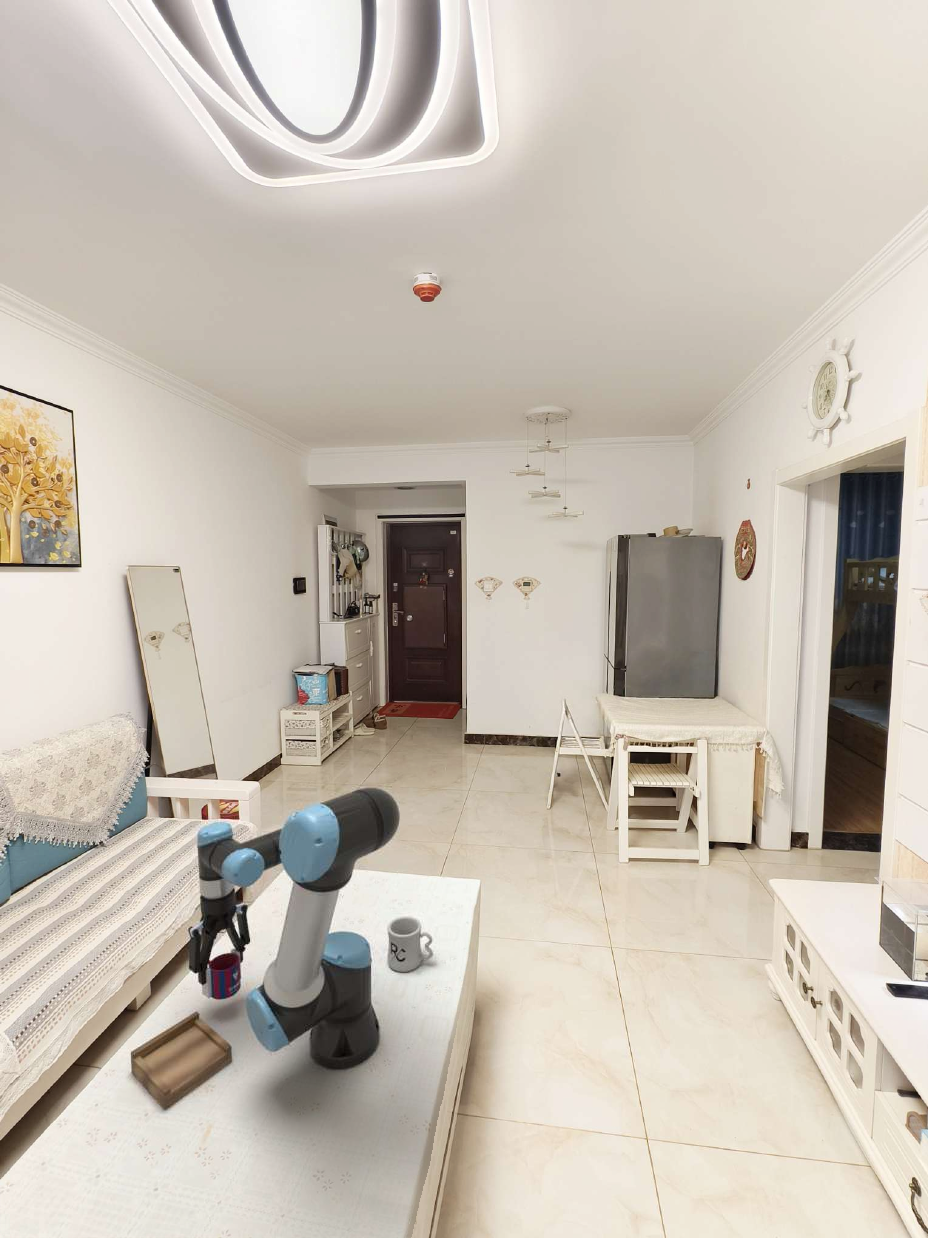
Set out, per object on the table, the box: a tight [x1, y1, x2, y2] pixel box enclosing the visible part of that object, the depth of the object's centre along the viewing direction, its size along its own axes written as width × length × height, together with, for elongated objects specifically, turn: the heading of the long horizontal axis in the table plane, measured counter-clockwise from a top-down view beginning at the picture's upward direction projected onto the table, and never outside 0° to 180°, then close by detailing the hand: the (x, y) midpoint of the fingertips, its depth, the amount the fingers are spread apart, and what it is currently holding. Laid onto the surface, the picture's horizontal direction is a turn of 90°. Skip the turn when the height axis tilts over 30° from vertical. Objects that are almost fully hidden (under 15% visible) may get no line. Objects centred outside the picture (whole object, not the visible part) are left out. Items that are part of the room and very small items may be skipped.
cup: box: [208, 952, 242, 1001], centre depth 136 cm, size 7×10×7 cm
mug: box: [386, 916, 434, 973], centre depth 154 cm, size 12×9×10 cm
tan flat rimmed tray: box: [130, 1011, 233, 1111], centre depth 121 cm, size 14×14×4 cm
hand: (222, 986), depth 137 cm, fingers closed on cup, 7 cm apart
